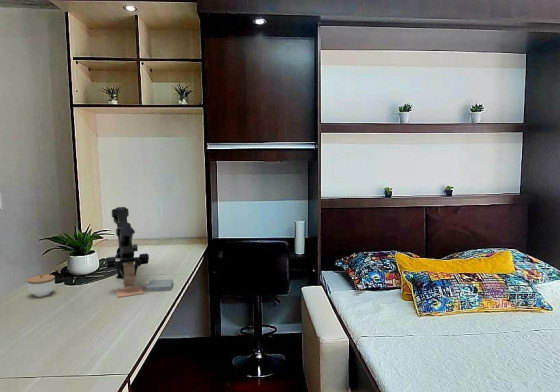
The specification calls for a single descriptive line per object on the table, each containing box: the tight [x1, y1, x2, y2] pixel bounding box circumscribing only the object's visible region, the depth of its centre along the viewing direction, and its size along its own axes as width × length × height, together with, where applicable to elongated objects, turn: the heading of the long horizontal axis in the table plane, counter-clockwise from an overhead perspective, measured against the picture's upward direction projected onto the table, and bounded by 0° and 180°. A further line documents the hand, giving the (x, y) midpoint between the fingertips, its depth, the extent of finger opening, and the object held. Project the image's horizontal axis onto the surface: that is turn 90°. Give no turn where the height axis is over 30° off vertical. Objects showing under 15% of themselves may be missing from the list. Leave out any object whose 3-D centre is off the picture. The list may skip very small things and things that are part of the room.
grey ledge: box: [145, 278, 174, 292], centre depth 193 cm, size 11×11×2 cm
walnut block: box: [123, 262, 136, 288], centre depth 185 cm, size 4×4×10 cm
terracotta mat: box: [116, 285, 145, 298], centre depth 186 cm, size 11×11×1 cm
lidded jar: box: [27, 274, 56, 298], centre depth 183 cm, size 11×11×9 cm
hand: (129, 276), depth 184 cm, fingers closed on walnut block, 4 cm apart
